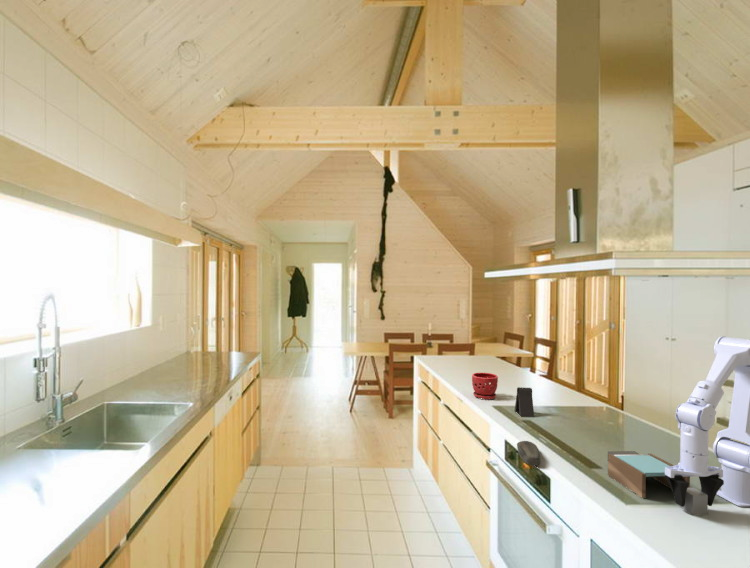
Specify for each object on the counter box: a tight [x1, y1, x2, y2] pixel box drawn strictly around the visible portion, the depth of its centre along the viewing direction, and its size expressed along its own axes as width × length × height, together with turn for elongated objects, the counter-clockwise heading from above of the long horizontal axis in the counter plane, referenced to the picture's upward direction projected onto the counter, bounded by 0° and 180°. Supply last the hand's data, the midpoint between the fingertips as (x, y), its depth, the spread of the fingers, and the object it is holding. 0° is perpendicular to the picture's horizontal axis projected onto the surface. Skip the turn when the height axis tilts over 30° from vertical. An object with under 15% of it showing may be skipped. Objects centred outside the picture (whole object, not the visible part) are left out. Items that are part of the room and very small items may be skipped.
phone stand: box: [514, 386, 535, 418], centre depth 188 cm, size 9×6×12 cm, turn 179°
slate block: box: [679, 487, 709, 516], centre depth 105 cm, size 4×4×5 cm
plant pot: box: [471, 372, 499, 400], centre depth 216 cm, size 13×13×12 cm
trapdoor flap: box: [607, 450, 671, 476], centre depth 121 cm, size 11×17×4 cm, turn 5°
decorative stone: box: [516, 440, 541, 466], centre depth 138 cm, size 17×6×4 cm, turn 168°
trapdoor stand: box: [607, 453, 691, 499], centre depth 119 cm, size 14×14×6 cm
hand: (693, 504), depth 105 cm, fingers open, 7 cm apart
